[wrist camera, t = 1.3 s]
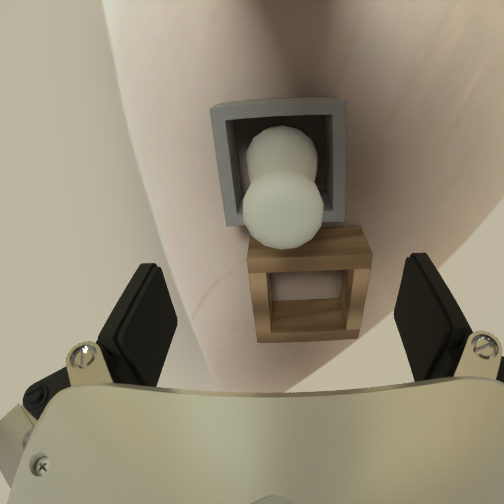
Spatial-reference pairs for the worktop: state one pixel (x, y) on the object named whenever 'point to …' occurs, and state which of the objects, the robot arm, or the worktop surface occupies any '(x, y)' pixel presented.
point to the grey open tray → (281, 107)
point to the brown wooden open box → (319, 310)
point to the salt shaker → (282, 188)
